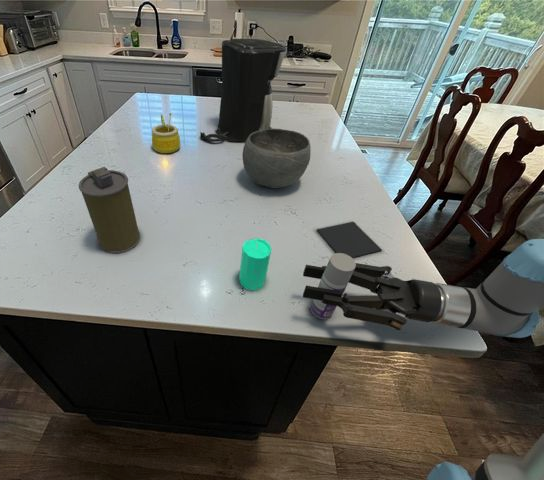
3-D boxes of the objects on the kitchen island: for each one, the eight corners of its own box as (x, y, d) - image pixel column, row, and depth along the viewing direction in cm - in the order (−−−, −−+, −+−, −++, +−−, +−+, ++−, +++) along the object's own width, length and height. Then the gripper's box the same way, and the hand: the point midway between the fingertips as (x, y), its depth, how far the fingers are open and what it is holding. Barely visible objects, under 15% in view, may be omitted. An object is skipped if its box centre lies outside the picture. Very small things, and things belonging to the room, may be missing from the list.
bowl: (313, 180, 102) (325, 138, 91) (281, 207, 89) (291, 162, 79) (263, 160, 111) (268, 120, 101) (228, 182, 99) (230, 139, 89)
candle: (265, 271, 70) (272, 234, 62) (264, 291, 66) (272, 254, 58) (240, 268, 71) (244, 231, 62) (238, 288, 66) (241, 250, 58)
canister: (148, 240, 77) (134, 172, 63) (111, 259, 71) (87, 189, 58) (126, 220, 82) (110, 154, 69) (91, 237, 77) (65, 168, 63)
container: (332, 303, 64) (355, 255, 54) (332, 321, 60) (357, 274, 50) (310, 298, 65) (329, 250, 54) (309, 316, 61) (329, 268, 51)
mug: (174, 157, 111) (171, 125, 102) (147, 152, 113) (143, 120, 105) (187, 143, 120) (185, 113, 111) (163, 139, 122) (159, 109, 114)
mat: (381, 251, 77) (381, 249, 76) (342, 261, 74) (342, 259, 73) (352, 223, 85) (353, 221, 84) (316, 230, 82) (317, 229, 81)
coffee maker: (281, 130, 133) (296, 41, 110) (240, 155, 113) (248, 54, 90) (240, 117, 142) (246, 33, 119) (196, 138, 123) (193, 43, 100)
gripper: (436, 356, 51) (300, 330, 54) (409, 279, 64) (300, 261, 67) (461, 334, 46) (309, 306, 49) (427, 255, 59) (308, 236, 61)
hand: (304, 280), depth 58 cm, fingers closed on container, 5 cm apart
